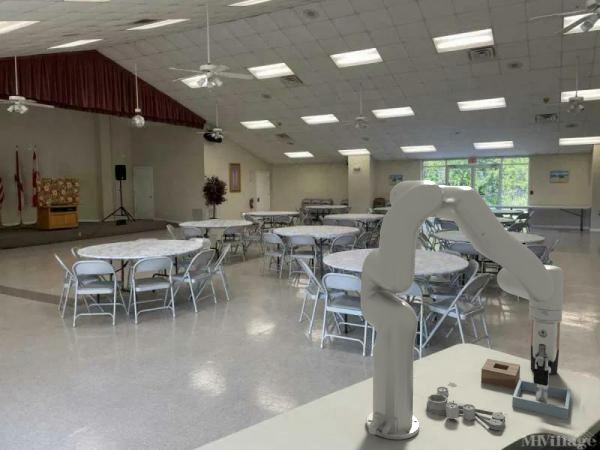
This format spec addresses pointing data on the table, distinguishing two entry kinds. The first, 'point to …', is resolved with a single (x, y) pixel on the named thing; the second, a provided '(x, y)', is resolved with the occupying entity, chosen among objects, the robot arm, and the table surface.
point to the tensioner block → (500, 373)
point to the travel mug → (555, 363)
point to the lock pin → (542, 391)
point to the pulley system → (441, 407)
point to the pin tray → (541, 406)
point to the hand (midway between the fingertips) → (542, 377)
